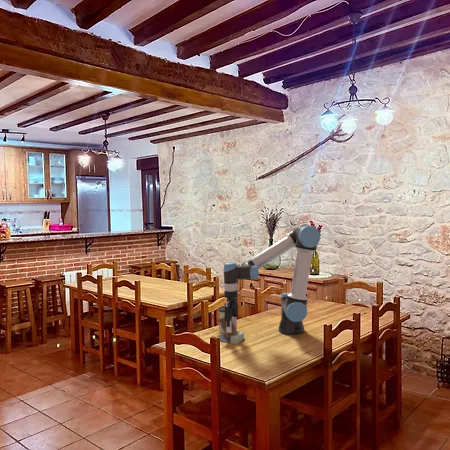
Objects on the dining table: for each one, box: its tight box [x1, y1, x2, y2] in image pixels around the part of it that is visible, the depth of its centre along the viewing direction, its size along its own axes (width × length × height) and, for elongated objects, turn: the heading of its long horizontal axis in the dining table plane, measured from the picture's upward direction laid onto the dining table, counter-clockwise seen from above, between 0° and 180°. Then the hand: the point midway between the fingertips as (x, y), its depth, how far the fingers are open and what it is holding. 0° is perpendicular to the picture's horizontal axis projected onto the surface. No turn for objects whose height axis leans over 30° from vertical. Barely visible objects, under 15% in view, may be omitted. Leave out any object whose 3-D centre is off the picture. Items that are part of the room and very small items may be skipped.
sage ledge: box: [230, 331, 245, 345], centre depth 244 cm, size 4×10×4 cm, turn 157°
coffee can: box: [218, 306, 233, 335], centre depth 261 cm, size 10×10×14 cm
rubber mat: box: [216, 334, 231, 344], centre depth 247 cm, size 11×10×1 cm
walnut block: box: [218, 317, 238, 337], centre depth 246 cm, size 5×5×11 cm
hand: (231, 330), depth 245 cm, fingers open, 7 cm apart
